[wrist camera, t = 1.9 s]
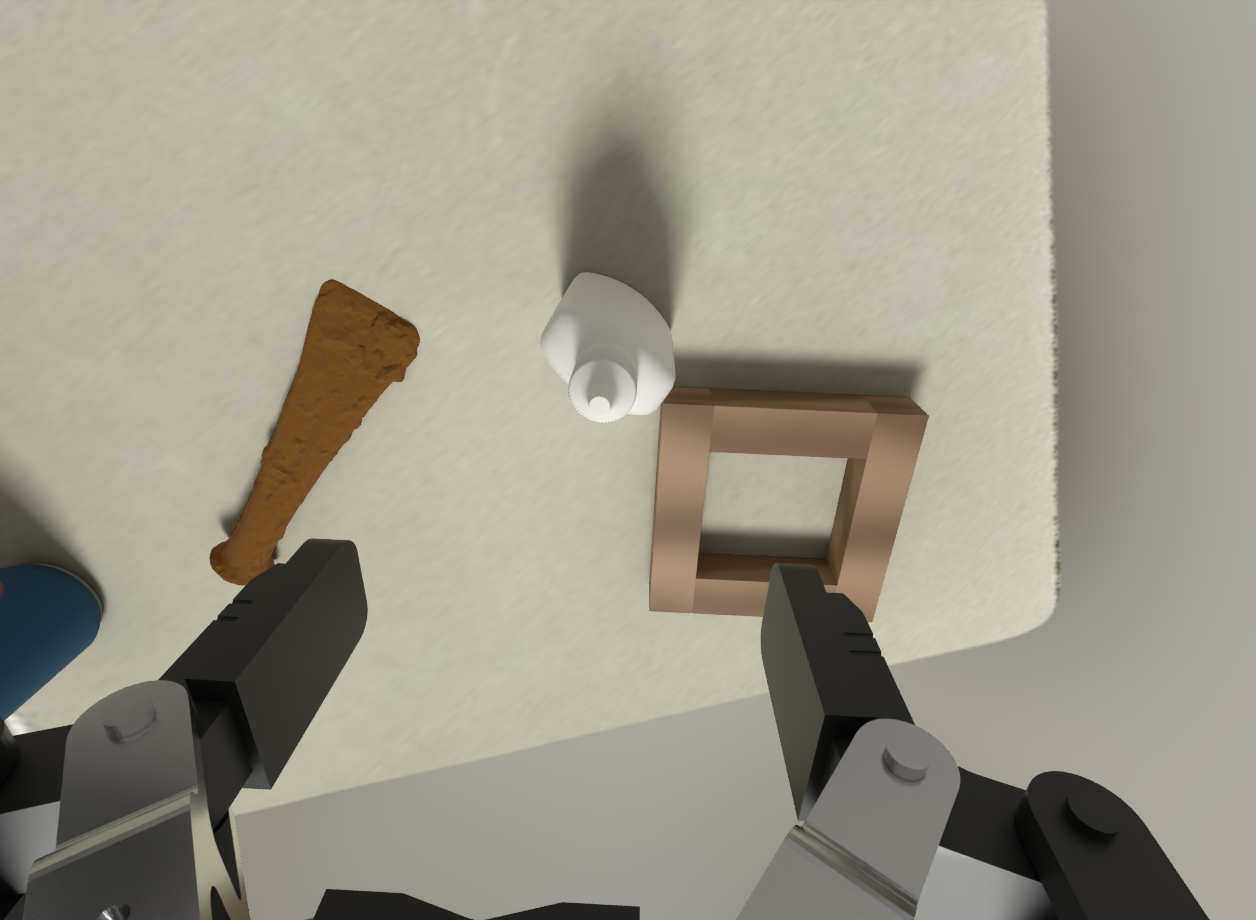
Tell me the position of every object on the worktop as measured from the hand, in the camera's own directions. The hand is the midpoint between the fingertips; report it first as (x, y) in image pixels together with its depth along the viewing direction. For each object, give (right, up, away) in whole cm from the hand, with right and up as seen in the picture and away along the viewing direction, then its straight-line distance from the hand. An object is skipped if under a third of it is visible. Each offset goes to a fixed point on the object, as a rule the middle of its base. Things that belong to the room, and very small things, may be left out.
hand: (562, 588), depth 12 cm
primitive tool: (-17, +4, +23) cm, 29 cm away
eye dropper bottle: (+1, +10, +19) cm, 22 cm away
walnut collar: (+9, 0, +24) cm, 25 cm away
